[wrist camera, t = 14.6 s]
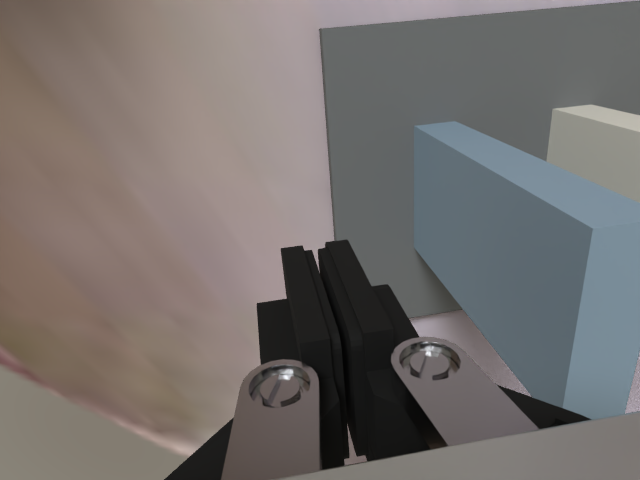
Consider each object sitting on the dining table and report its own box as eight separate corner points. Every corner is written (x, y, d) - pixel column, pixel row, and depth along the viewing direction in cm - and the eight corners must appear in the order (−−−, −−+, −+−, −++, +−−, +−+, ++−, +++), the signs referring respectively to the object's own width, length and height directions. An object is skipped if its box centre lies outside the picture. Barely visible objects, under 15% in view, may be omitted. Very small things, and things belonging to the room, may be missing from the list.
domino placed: (455, 121, 18) (671, 217, 9) (450, 242, 20) (623, 417, 11) (413, 125, 18) (593, 228, 9) (413, 247, 20) (558, 430, 11)
